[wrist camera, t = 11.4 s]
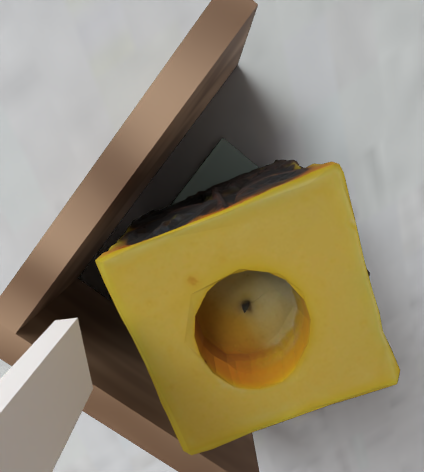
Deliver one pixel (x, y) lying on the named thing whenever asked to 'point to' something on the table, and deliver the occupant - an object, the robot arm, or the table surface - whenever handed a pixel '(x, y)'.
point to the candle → (251, 302)
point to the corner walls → (99, 229)
